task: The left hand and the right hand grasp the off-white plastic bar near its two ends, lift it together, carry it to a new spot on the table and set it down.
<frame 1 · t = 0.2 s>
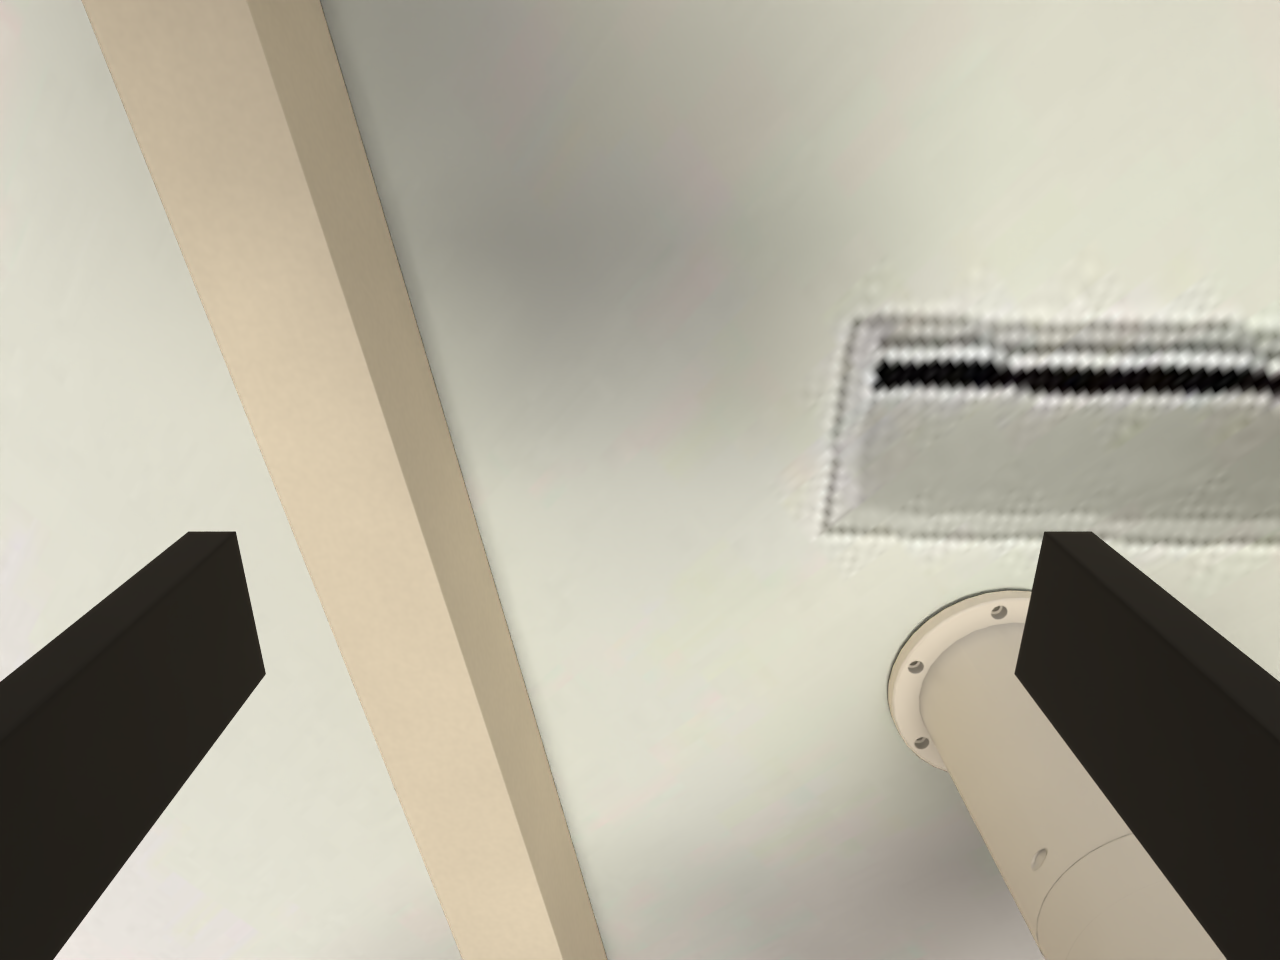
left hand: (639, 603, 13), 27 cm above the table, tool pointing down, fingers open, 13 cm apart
bar: (457, 622, 45), on the table
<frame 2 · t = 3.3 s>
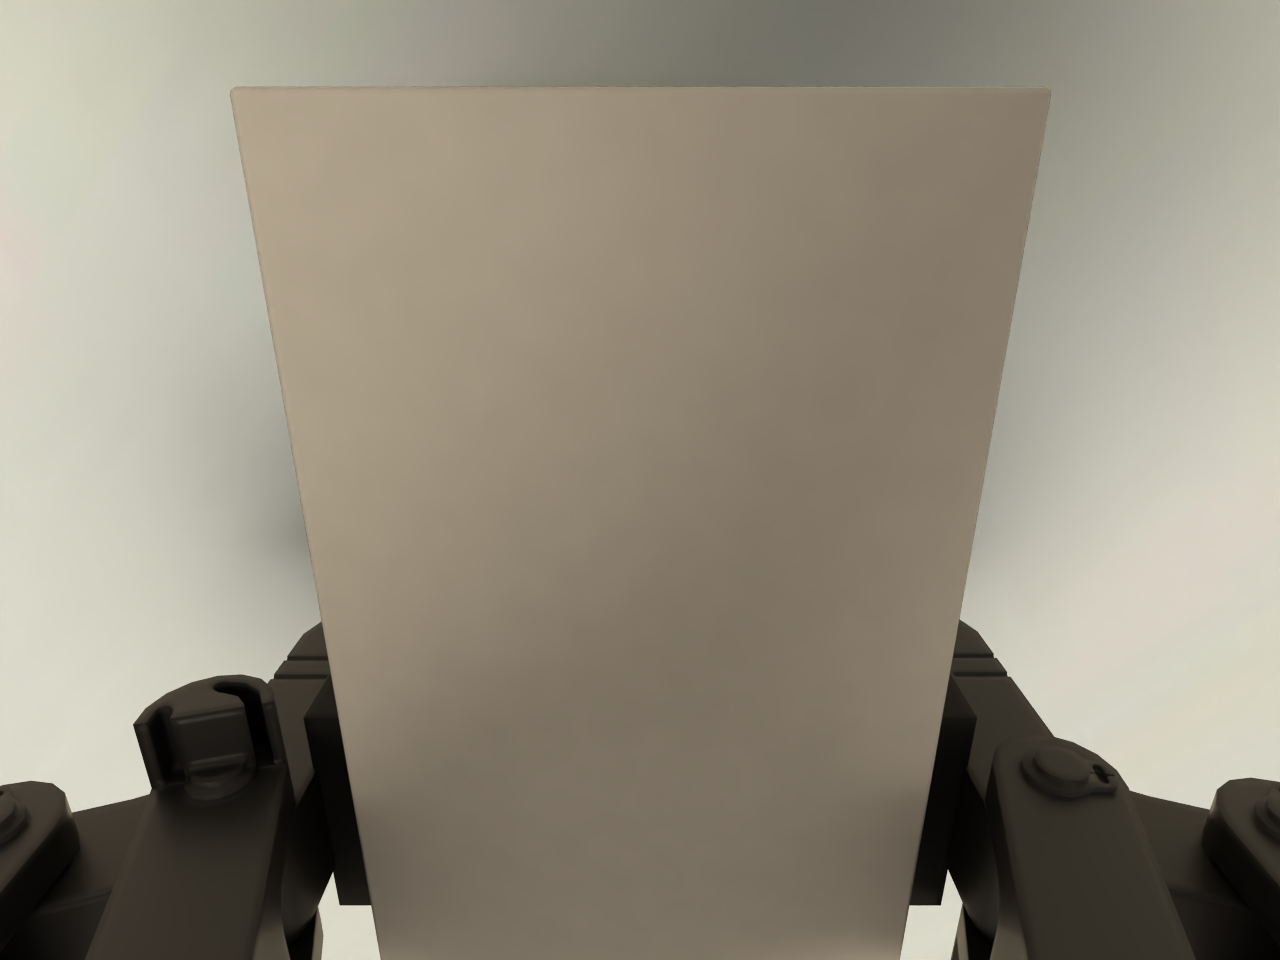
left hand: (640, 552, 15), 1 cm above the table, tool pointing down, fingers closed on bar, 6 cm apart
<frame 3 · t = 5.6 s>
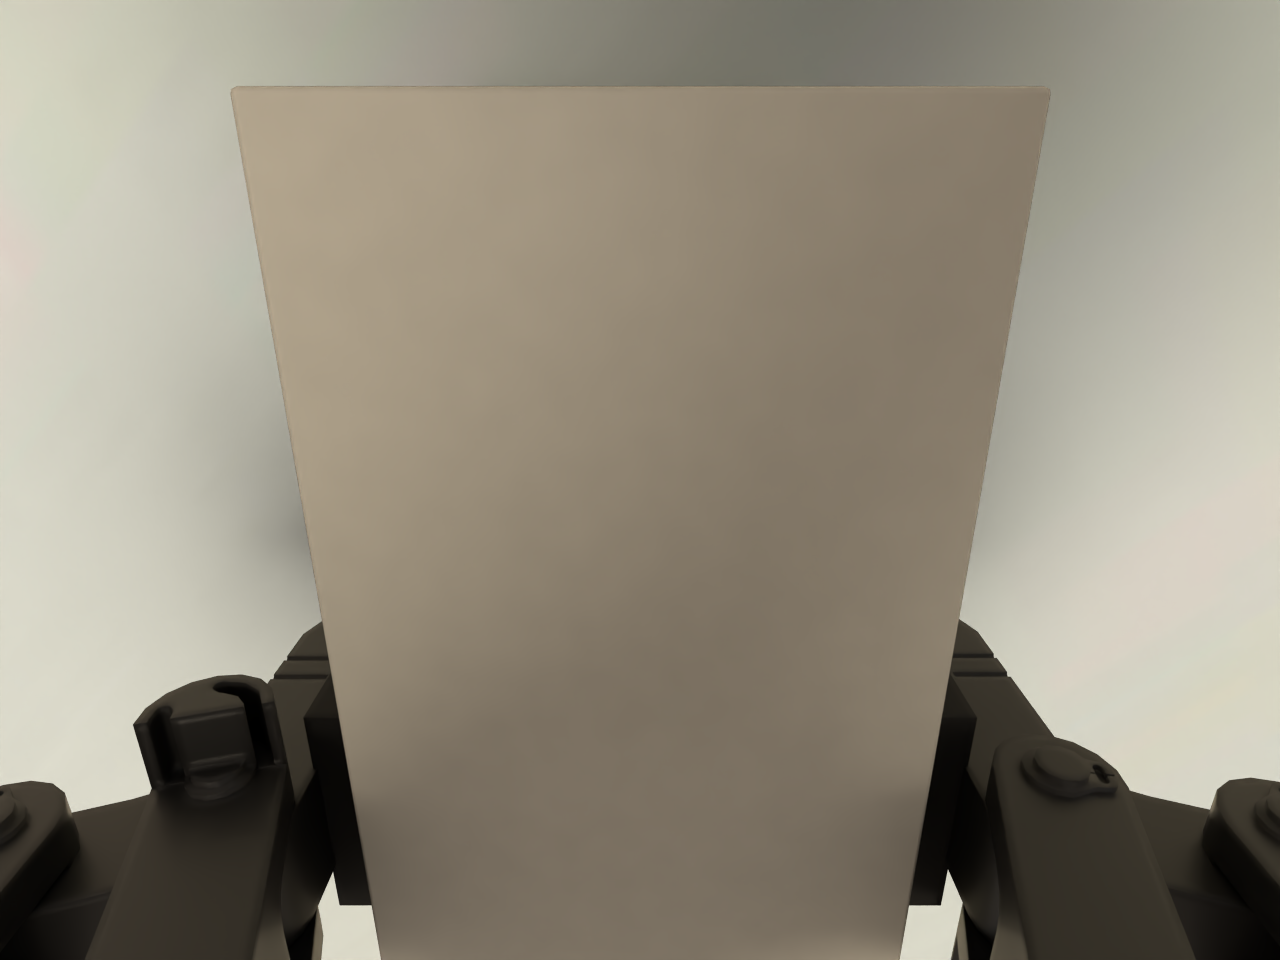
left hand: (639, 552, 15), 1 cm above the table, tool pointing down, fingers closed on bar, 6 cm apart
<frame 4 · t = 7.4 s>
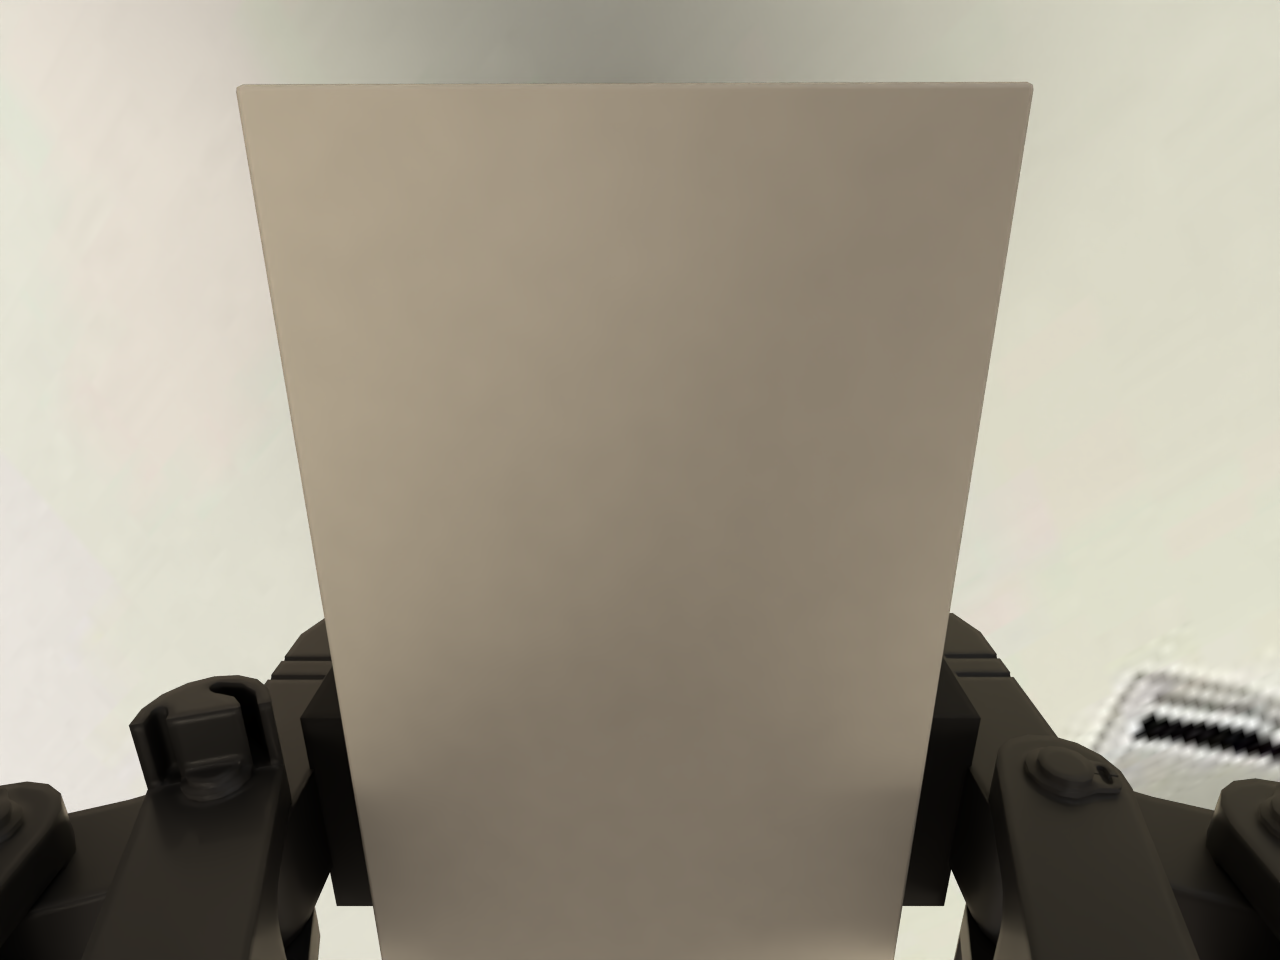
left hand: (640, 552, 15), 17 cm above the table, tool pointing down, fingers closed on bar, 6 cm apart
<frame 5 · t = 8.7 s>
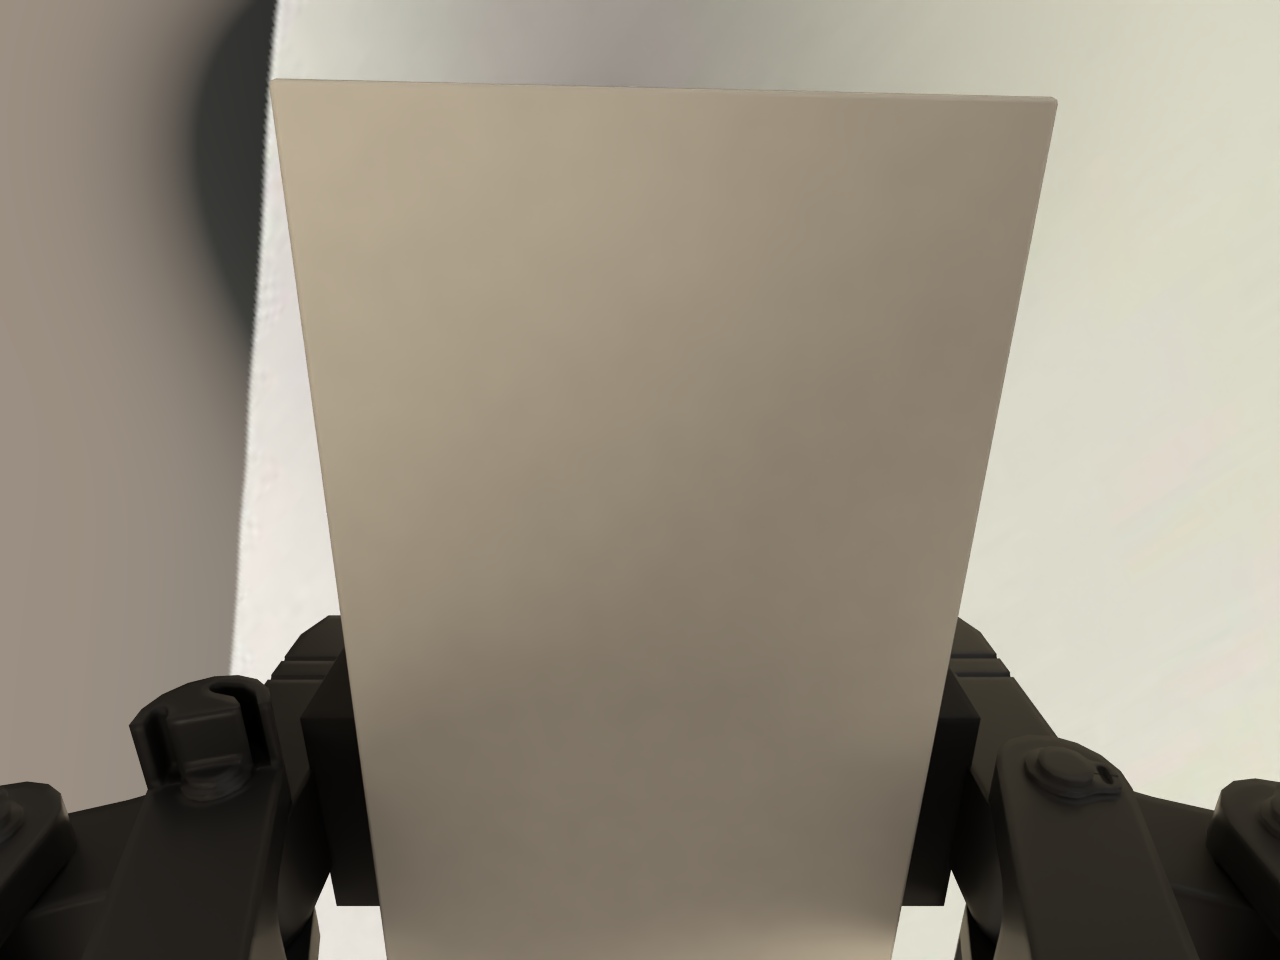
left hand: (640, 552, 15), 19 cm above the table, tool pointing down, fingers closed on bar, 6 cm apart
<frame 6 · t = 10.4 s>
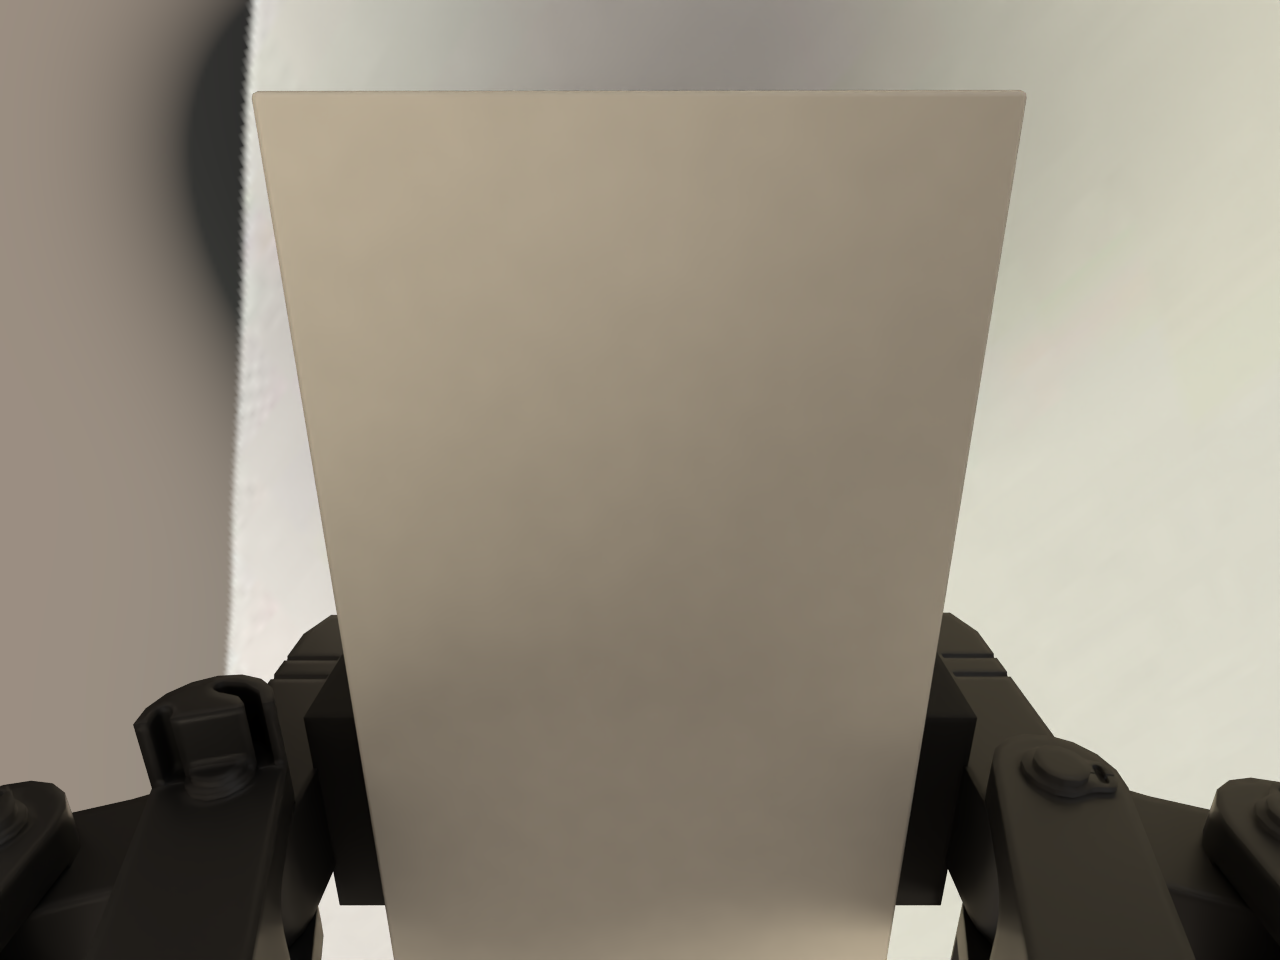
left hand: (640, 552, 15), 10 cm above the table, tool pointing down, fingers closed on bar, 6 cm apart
when the left hand's fingers open (2 cm above the table, at t = 11.7 s): bar stays where it is, on the table.
when the right hand's fingers open (3 cm above the table, at t = 11.9 s): bar stays where it is, on the table.
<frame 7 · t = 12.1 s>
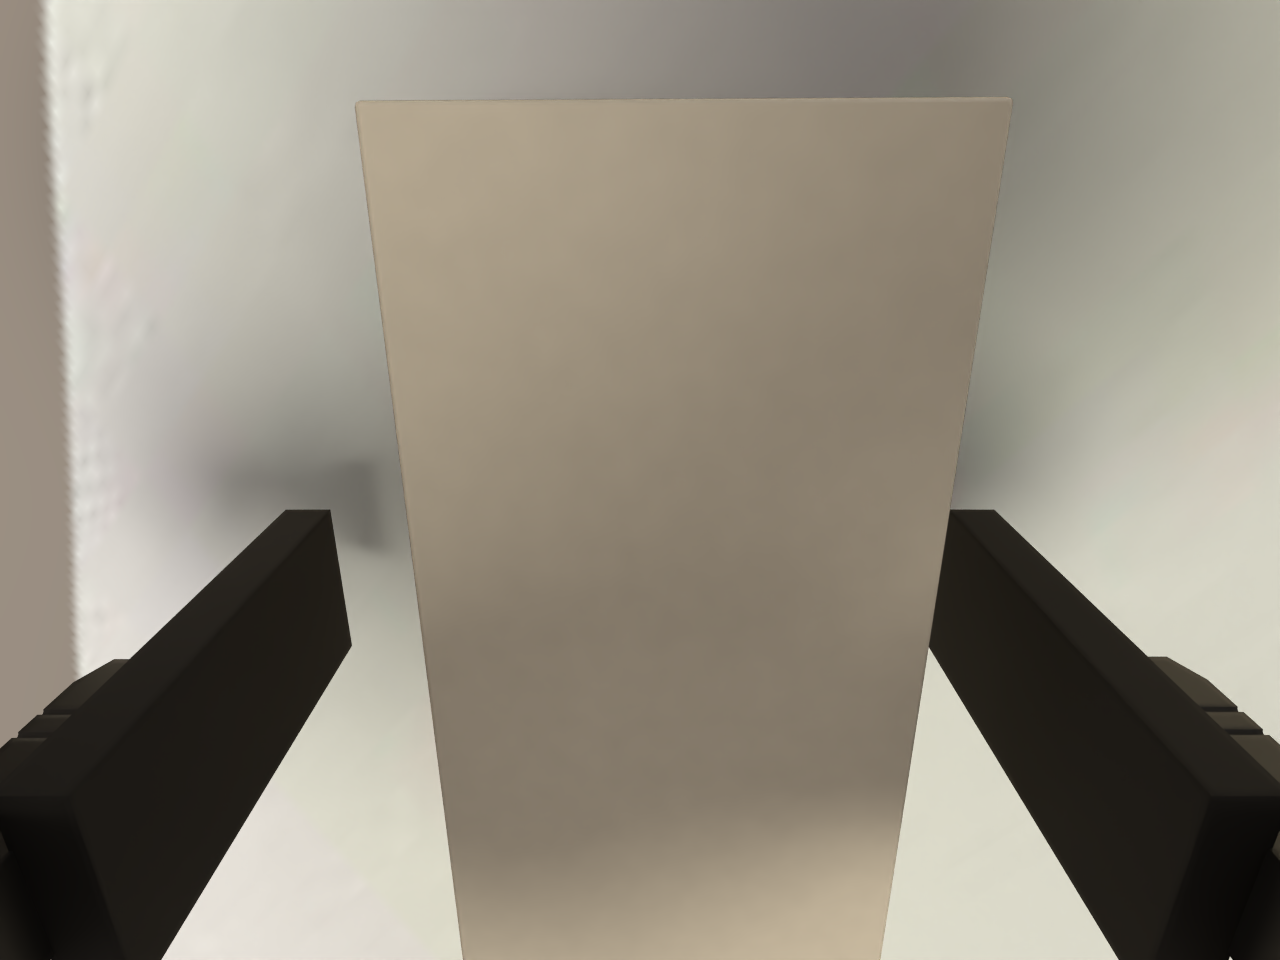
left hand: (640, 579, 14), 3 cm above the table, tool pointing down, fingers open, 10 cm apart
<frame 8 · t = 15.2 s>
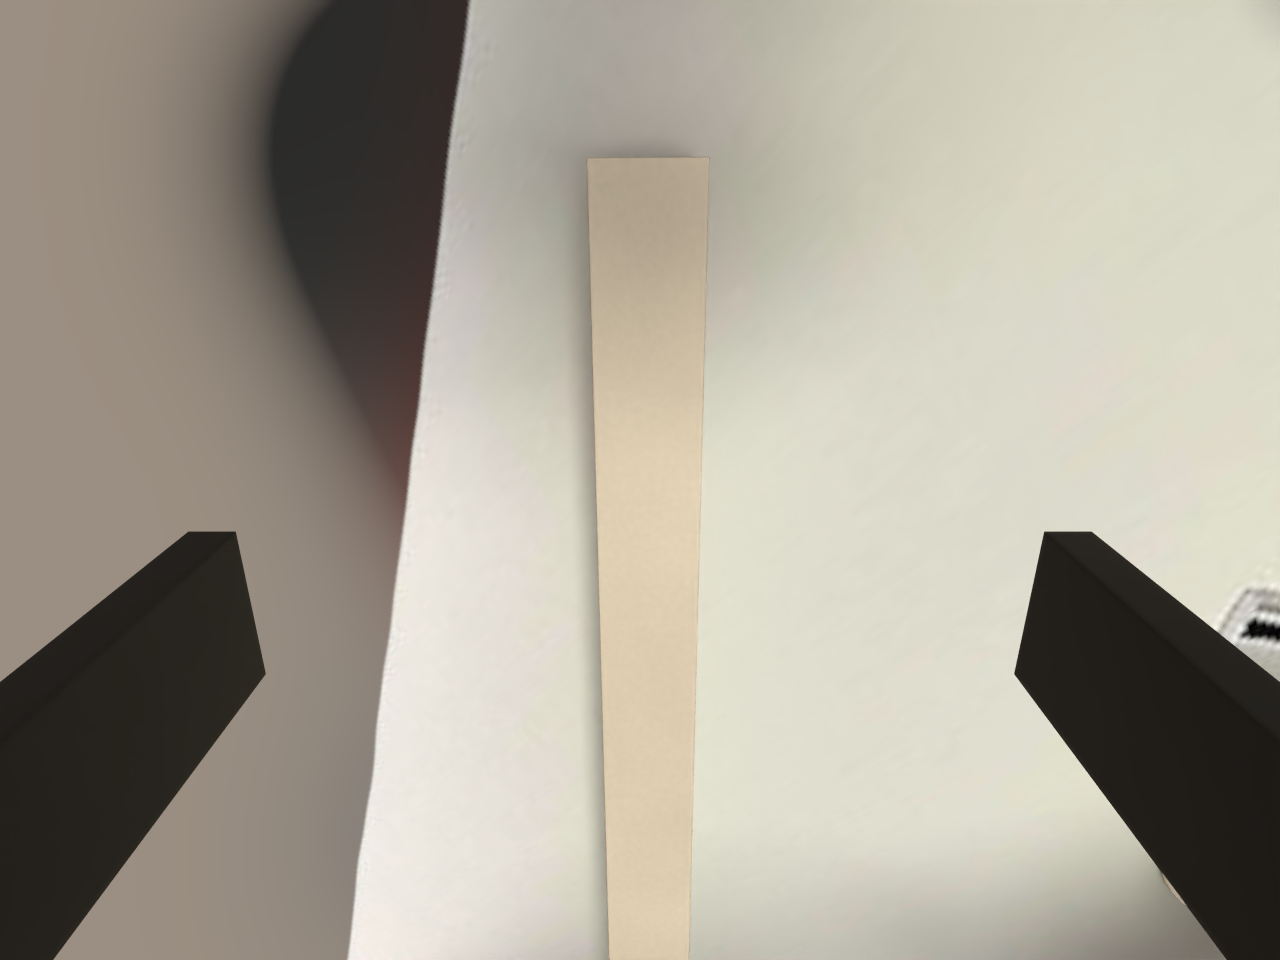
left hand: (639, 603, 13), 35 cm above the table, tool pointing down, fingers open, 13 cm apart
bar: (647, 685, 55), on the table
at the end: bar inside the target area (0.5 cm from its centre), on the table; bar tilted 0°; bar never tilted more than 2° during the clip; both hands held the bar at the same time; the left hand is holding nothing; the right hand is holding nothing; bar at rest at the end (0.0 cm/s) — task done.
